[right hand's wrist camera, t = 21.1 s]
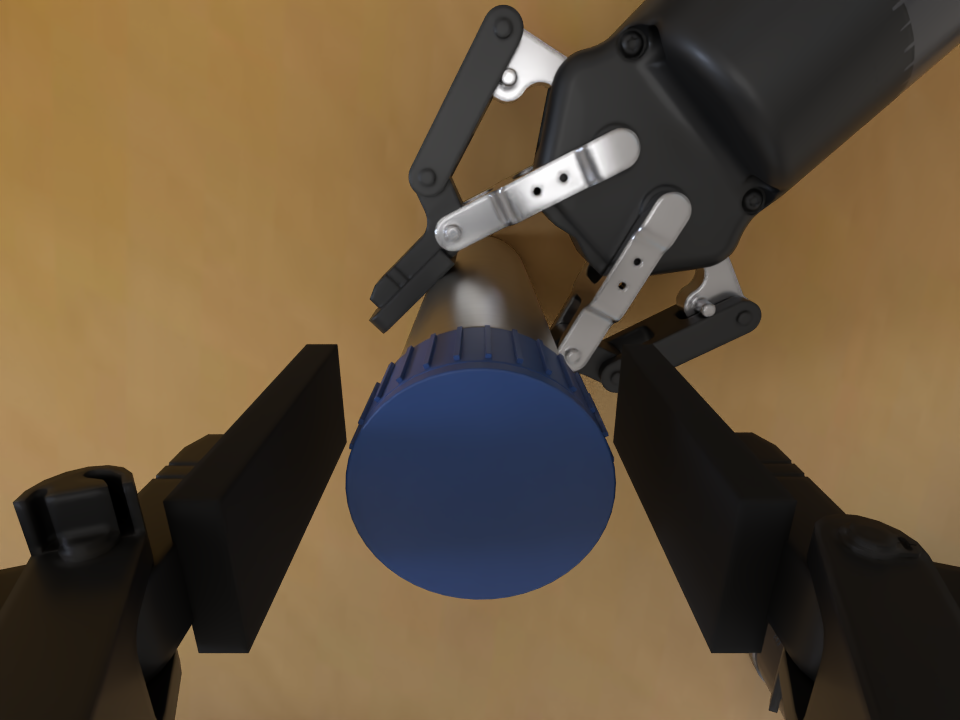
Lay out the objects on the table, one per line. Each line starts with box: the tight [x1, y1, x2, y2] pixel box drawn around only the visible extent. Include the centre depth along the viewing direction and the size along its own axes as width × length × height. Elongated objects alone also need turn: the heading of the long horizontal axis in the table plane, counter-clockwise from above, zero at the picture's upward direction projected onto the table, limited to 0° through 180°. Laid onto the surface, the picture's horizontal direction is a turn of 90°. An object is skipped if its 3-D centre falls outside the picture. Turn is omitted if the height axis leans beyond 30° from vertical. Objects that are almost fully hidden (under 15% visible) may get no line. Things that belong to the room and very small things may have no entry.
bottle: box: [401, 236, 559, 357], centre depth 18 cm, size 4×4×17 cm
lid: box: [346, 325, 616, 599], centre depth 11 cm, size 5×5×2 cm
